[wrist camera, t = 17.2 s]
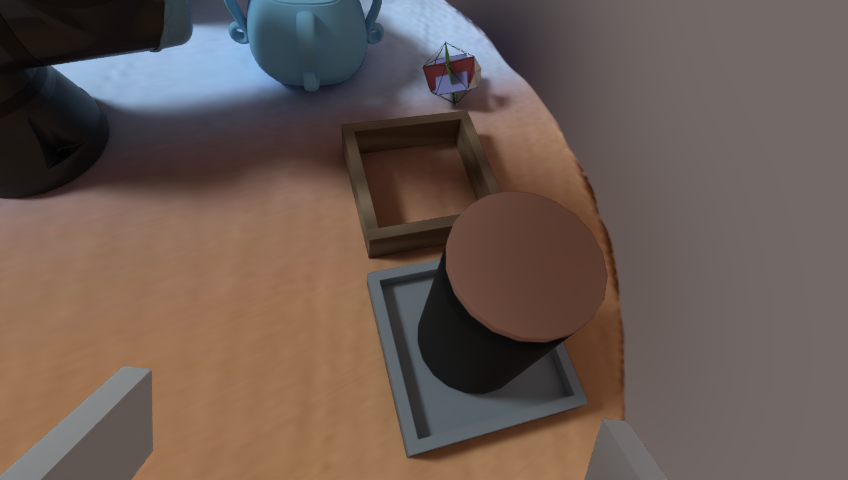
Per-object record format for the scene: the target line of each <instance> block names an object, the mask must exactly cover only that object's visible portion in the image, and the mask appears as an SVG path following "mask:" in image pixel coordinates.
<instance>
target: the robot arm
mask: <svg viewBox="0 0 848 480" xmlns="http://www.w3.org/2000/svg"><path fill="white" fill-rule="evenodd" d="M192 32H193V25H192V17H191V11H190V6H189V2H188V0H0V197H22V196H29V195H34V194H39V193H43V192H46V191H49V190H52V189H55V188H57V187H59V186H62V185H64V184H66V183H68V182H70V181H71V180H73V179H75V178H76V177H78V176H79V175H81V174H82V173H83V172H85V171H86V170H87V169H88V168H89V167H90V166H91V165H92V164H93V163H94V162H95V161H96V160H97V159H98V157H99V156H100V155H101V153H102V151H103V150H104V148H105V145H106V143H107V139H108V133H109V129H108V123H107V120H106V117H105V115H104V114H103V112H102V111H101V109H100V108H99V106H98V105H97V103H96V102H95V101H94V99H93V98H92V97H91V96H90V95H89V94H88V93H87V92H86V91H84V90H83V89H82V88H80V87H78V86H77V85H76V84H74V83H73V82H72V81H70V80H69V79H68V78H67V77H65V76H64V75H63V74H61V73H60V72H59V71H57V70H56V69H55V68H53V67H52V66H51V65H57V64H64V63H70V62H77V61H84V60H91V59H97V58H104V57H111V56H118V55H124V54H131V53H138V52H145V51H150V52H159V51H161V50H162V49H164V48H169V47H174V46H179V45H183V44H185V43H186V42H188V41H189V39H190V38H191V36H192ZM152 451H153V434H152V369H146V368H137V367H128V366H123V367H122V368H121V369H119V370H118V371H117V372H116V373H115V374H114V375H113V376H112V377H110V378H109V379H108V380H107V381H106V382H105V383H104V384H103V385H101V386H100V387H99V388H98V389H97V390H96V391H95V392H94V393H92V394H91V395H90V396H89V397H88V398H87V399H86V400H84V401H83V402H82V403H81V404H80V405H79V406H78V407H77V408H75V409H74V410H73V411H72V412H71V413H70V414H69V415H68V416H66V417H65V418H64V419H63V420H62V421H61V422H60V423H59V424H57V425H56V426H55V427H54V428H53V429H52V430H51V431H50V432H48V433H47V434H46V435H45V436H44V437H43V438H42V439H41V440H39V441H38V442H37V443H36V444H35V445H34V446H33V447H31V448H30V449H29V450H28V451H27V452H26V453H25V454H24V455H22V456H21V457H20V458H19V459H18V460H17V461H16V462H15V463H13V464H12V465H11V466H10V467H9V468H8V469H7V470H6V471H4V472H3V473H2V474H1V475H0V480H131V479H132V478H133V476H134V475H135V474H136V472H137V471H138V470H139V468H140V467H141V466H142V464H143V463H144V462H145V460H146V459H147V458H148V457H149V455H150V454H151V453H152ZM585 480H668V479H667V478H666V476H665V475H664V474H663V472H662V471H661V469H660V468H659V466H658V465H657V463H656V462H655V461H654V459H653V458H652V456H651V455H650V454H649V452H648V451H647V449H646V448H645V446H644V445H643V444H642V442H641V441H640V439H639V438H638V436H637V435H636V434H635V432H634V431H633V429H632V428H631V427H630V425H629V423H628V422H627V421H622V420H613V419H603V418H602V421H601V425H600V428H599V431H598V435H597V438H596V442H595V445H594V449H593V452H592V456H591V459H590V462H589V466H588V469H587V473H586V476H585Z"/></svg>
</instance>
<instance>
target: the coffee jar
mask: <svg viewBox="0 0 848 480" xmlns="http://www.w3.org/2000/svg"><path fill="white" fill-rule="evenodd" d="M607 276H608V275H607V270H606V265H605V260H604V255H603V252H602V250H601V248H600V246H599V245H598V243H597V241H596V239H595V237H594V235H593V233H592V232H591V231H590V230H589V228H588V227H587V226H586V225H585V224H584V223H583V222H582V221H581V220H580V219H579V218H578V217H577V216H576V215H575V214H574V213H572V212H571V211H569V210H568V209H566V208H565V207H563V206H562V205H560V204H559V203H557V202H556V201H553V200H551V199H548V198H545V197H542V196H539V195H536V194H533V193H525V192H513V191H507V192H502V193H497V194H492V195H487V196H485V197H484V198H482V199H480V200H478V201H476V202H474V203H473V204H471V205H469V206H468V207H467V208H466V209H465V210H464V211H463V213H462V214H461V215H460V216H459V217H458V218H457V219H456V221H455V222H454V224H453V227H452V229H451V232H450V235H449V238H448V240H447V243H446V246H445V249H444V252H443V254H442V257H441V260H440V263H439V266H438V268H437V271H436V274H435V277H434V280H433V283H432V286H431V289H430V292H429V295H428V297H427V300H426V303H425V306H424V309H423V312H422V315H421V318H420V321H419V324H418V346H419V349H420V352H421V356H422V359H423V361H424V362H425V364H426V365H427V367H428V368H429V370H430V371H431V373H432V374H433V375H434V376H435V377H436V378H438V379H439V380H440V381H441V382H443V383H444V384H445V385H446V386H448V387H450V388H453V389H455V390H458V391H461V392H463V393H470V394H485V393H488V392H492V391H495V390H498V389H501V388H502V387H503V386H505V385H506V384H507V383H509V382H510V381H511V380H513V379H514V378H515V377H517V376H518V375H519V374H521V373H522V372H523V371H525V370H526V369H527V368H529V367H530V366H531V365H533V364H534V363H535V362H537V361H538V360H539V359H541V358H542V357H543V356H545V355H546V354H547V353H549V352H550V351H551V350H553V349H554V348H555V347H557V346H558V345H559V344H561V343H562V342H563V341H564V340H566V339H567V338H568V337H570V336H571V335H572V334H574V333H575V332H576V331H577V330H579V329H580V328H581V327H583V326H584V325H585V324H586V323H588V322H589V321H590V320H592V319H593V317H594V316H595V314H596V312H597V310H598V309H599V307H600V305H601V304H602V302H603V300H604V297H605V290H606V283H607Z"/></svg>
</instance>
